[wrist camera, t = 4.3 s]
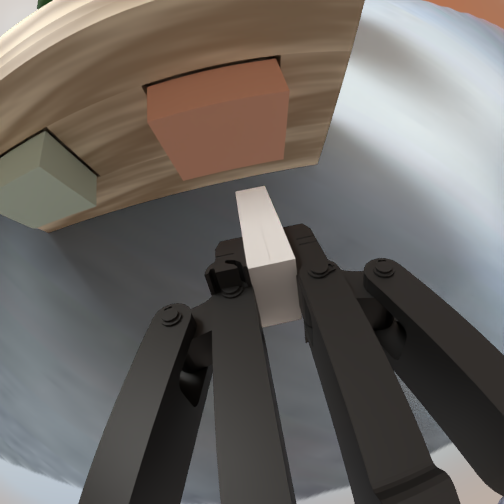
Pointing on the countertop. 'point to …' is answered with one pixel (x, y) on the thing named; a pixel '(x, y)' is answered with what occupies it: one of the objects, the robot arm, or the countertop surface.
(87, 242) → the countertop surface
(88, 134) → the block
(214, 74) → the terracotta button
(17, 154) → the sage button
